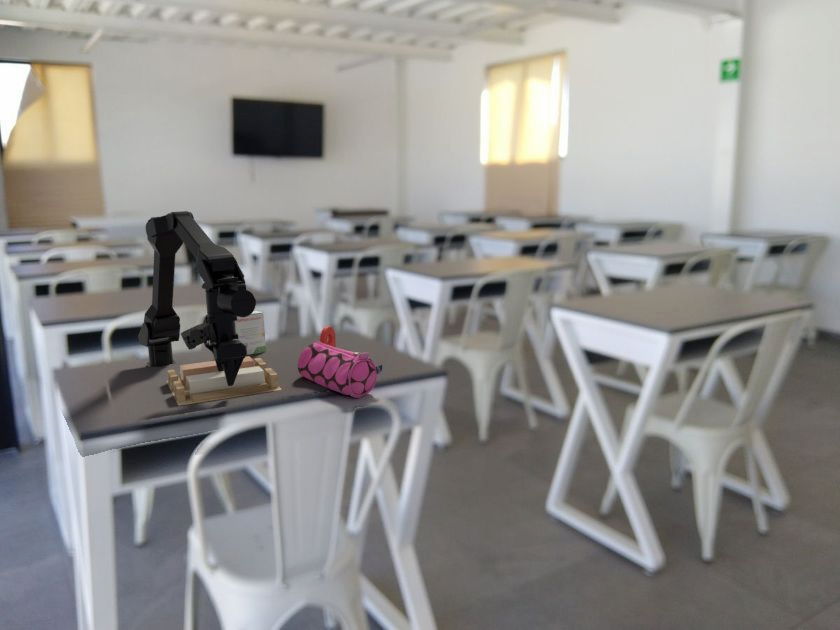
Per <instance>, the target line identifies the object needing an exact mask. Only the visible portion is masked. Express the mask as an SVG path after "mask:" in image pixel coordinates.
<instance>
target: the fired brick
mask: <svg viewBox="0 0 840 630" xmlns="http://www.w3.org/2000/svg"><path fill="white" fill-rule="evenodd" d="M249 367H255V366H254V359H253V358H252V357H251V356H250V355H246V356H245V358H244V359H243V362H242V364H241V366H240V369H242V368H249ZM179 371H180V372H179V374H181V382H182V384H183V386H184V387H185V384H184V382H186V376H191V375H198V374H206V373H213V372H218V369H217V366H216V362H215V360H209V361H204V362H203V361H202V362H195V363H188V364H180V365H179Z"/></svg>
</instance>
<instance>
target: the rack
mask: <svg viewBox="0 0 840 630" xmlns="http://www.w3.org/2000/svg"><path fill="white" fill-rule="evenodd" d="M253 360H254V367H256V366H259V367H260V368H261V369H262V370H263V371H264V381H265V383H262V384H256V385H249V386H242V387H236V388H229V389H222V390H215V391H209V392H202V393H195V394H191V395H192V399H190V397H189V395H188V393H187V382H184V384H185V387H184V386H183V384H182V382H181V373H179V375H178V374H177V372H176V371H175V369H169V370H167V380H165V381H166V384H167V385H168V387H169V390H170V392H171V393H172V396H173V398H174V399H175V400H174V401H176V404H177V405H178V407H179V406H185V405H193V404H198V403H205V402H210V401H218V400H225V399H230V398H236V397H244V396H249V395H255V394H261V393H269V392H270V393H271V392H275V391H282V390H283V389H282V388H281V387H280V386H279V376H278V375H279V374H278V373H277V372H276V371H275V370H274V369H273V368H272V367H268V366H267V363H266V362H265V361H264V360H263V358H261V357H258V358H254V359H253Z"/></svg>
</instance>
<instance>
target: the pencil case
mask: <svg viewBox="0 0 840 630" xmlns="http://www.w3.org/2000/svg"><path fill="white" fill-rule="evenodd" d="M369 356H370V352H355V351H351V350H346V349H342V348H339V347H337V346H336V347H332V346H329V345H326V344H323V343H321V342H320V340H319V341H317V340H316V341H315V342H313V343H310V344H308V345H307V346H306V347H305V348H304V349H303V350H302V351H301V353H300V355H299V358H298V362H297V371H298V373H299V375H300V376H301V377H303V378H305V379H307V380H309V381H311V382H314V383H315V384H317V385H321V386H322V387H325V388H327V389H330V390H331V391H334V392H337V393H340V394H342V395H346V396H351V397H353V398H355V399H359V398H358V397H361V398H363V397H364V396H367V395H368V394H369V393H370V392H371V391H372V390H373V389H374V387H375V385H376V382H377V375H379V374H380V373H381V372H382V371H383V364H381V365H378V366H376V364H375V362H374V361H373V360H372V359H371V358H370V357H369ZM362 396H363V397H362Z"/></svg>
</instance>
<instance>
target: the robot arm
mask: <svg viewBox="0 0 840 630" xmlns="http://www.w3.org/2000/svg"><path fill="white" fill-rule="evenodd" d="M145 233H146V237H147V238H146V239H147V241H148V243H149V245H150V246H151V247H152V249H153V269H152V271H153V275H152V295H151V296H152V299H151V304H150V306H149V307H148V309H147V310H146V311H145V313H144V317H143V322H142V324H141V327H140V330H139V333H138V336H137V337H138V341H139V342H138V343H139V345H142V346H144V347H146V348H147V353H148V359H149V361H148V362H146V364H147V365H146V366H147V367H148V368H151V367H158V368H159V367H163V366H165V367H166V366H169V365H174V364H177V363H176V361H175V360H174V356H173V347H172V343H173V342H179V341H180V336H181V338H182V340H183V342H184V344H185V346H186V347H187V349H188V350H189V351H190V350H191V351H192V350H193V349H194V350H195V349H196V348H197V347H198V346H200V345H202V344H203V345H204V347H205V348H207V349H208V350H209V351H210V352H211V353H212V356H213V359H214V361H215V362H216V366H217V369H218V372H220V371H224V373H225V377H226V381H227V385H228V386H232V385H233V384H234V382H235V379H236V376H237V374H238V371H239V369H240V366H241V364H242V362H243V359H244V358H245V357H247V356H248V355H247V348H246V346H245V345H244V344H243V343H242V342H241V341H239V340H234V339H238V334H237V333H236V324H235V321H237V316H238V317H247V316H249V315H250V314H251V313H252V312H253V311H255V309H256V305H257V300H256V298H255V295H254V294H253V292H252V291H250V290H248V289H247V285H246V280H245V274H244V273H243V271H242V269H241V267H240V266H239V263H238V261H237V259H236V258H235V256H234V254H233V253H232V252H230V251H229V250H228V249H227V248H226V247H224V246H222V245H218V244H216V243H214V242H213V241H212V239H210V237H209V235H207V233H206V232H205V231H204V230H203V228H202V227H201V226H200V225H199V224H198V222H197V221H196V220H195V217H194V214H193V213H192V212H191V211H187V210H185V211H171V212H169V213H167V214H164V215H162V216H152V217H150V219H148V220H147V222H146V224H145ZM183 245H185V246H186V248H187V249H188V250H189V251H190V253H191V254H192V255H193V257H194V258H195V260H196V262H195V268H196V271H197V273H198V275H199V277H200V278H201V280H202V281H203V283H202V285H201V288H202V289H203V290H204V292H205V300H206V301H205V302H206V303H205V304H206V313H207V314H205V316H204V322H202V323H200V324H197V325H195V326H193V327H190V328H188V329H186V330H183V331H182V332H181V323H180V321H181V318H180V315H178V314H177V312H176V311H175V309H174V307H173V306H174V287H175V286H174V285H175V272H176V271H175V270H176V269H175V268H176V267H175V266H176V254H177V253H178V252H179V250H180V249H181V247H183Z"/></svg>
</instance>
